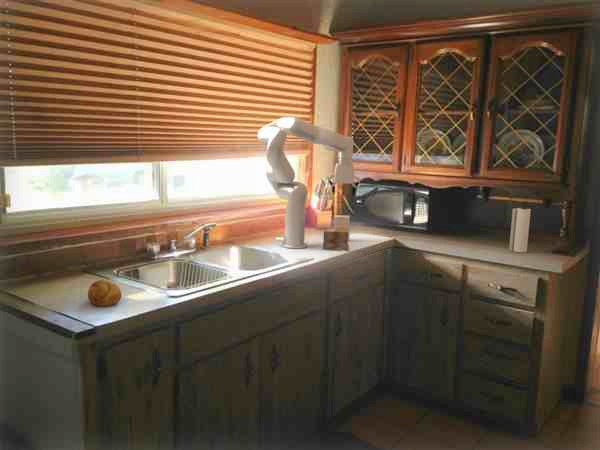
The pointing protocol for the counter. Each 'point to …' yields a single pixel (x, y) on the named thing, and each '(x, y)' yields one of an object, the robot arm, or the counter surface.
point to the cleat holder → (335, 240)
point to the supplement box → (342, 224)
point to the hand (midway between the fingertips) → (343, 194)
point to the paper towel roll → (519, 230)
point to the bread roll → (104, 293)
